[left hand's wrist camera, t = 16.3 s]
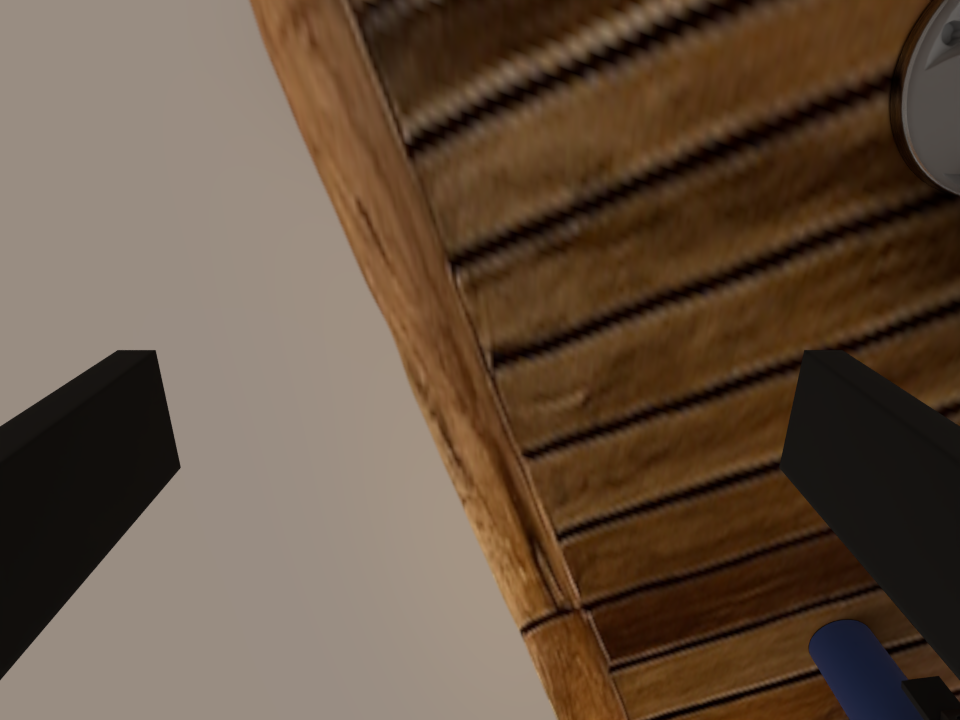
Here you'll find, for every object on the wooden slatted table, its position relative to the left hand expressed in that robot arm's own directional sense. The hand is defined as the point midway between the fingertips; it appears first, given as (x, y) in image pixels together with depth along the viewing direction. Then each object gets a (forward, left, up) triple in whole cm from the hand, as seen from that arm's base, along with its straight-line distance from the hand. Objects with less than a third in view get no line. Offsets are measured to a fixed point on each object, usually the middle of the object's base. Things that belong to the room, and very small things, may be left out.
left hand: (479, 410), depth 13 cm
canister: (-14, +52, -32) cm, 63 cm away
